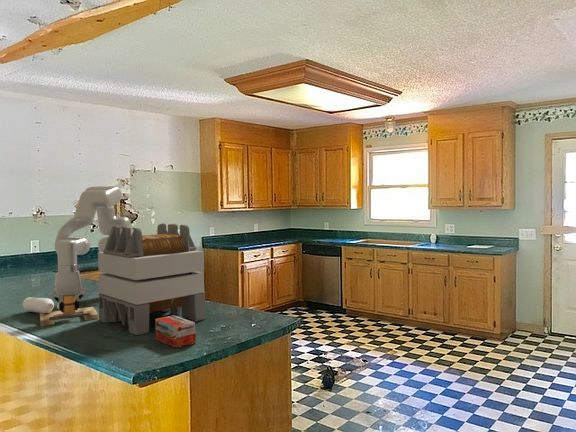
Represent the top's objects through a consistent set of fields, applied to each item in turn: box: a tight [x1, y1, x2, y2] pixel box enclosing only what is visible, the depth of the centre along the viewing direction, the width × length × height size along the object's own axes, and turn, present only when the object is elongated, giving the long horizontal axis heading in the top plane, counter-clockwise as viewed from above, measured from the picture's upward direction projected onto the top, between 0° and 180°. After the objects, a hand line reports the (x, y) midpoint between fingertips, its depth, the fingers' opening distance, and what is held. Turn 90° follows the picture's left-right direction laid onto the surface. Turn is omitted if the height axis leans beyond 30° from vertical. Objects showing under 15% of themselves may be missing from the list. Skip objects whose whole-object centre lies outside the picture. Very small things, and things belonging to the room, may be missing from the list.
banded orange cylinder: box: [62, 295, 76, 315], centre depth 205 cm, size 5×5×8 cm
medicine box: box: [154, 314, 197, 349], centre depth 172 cm, size 15×8×8 cm, turn 44°
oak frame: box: [39, 306, 99, 327], centre depth 208 cm, size 22×16×3 cm
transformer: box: [97, 222, 207, 336], centre depth 203 cm, size 34×33×41 cm
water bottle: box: [21, 296, 59, 314], centre depth 214 cm, size 9×6×25 cm
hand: (69, 310), depth 205 cm, fingers closed on banded orange cylinder, 5 cm apart
